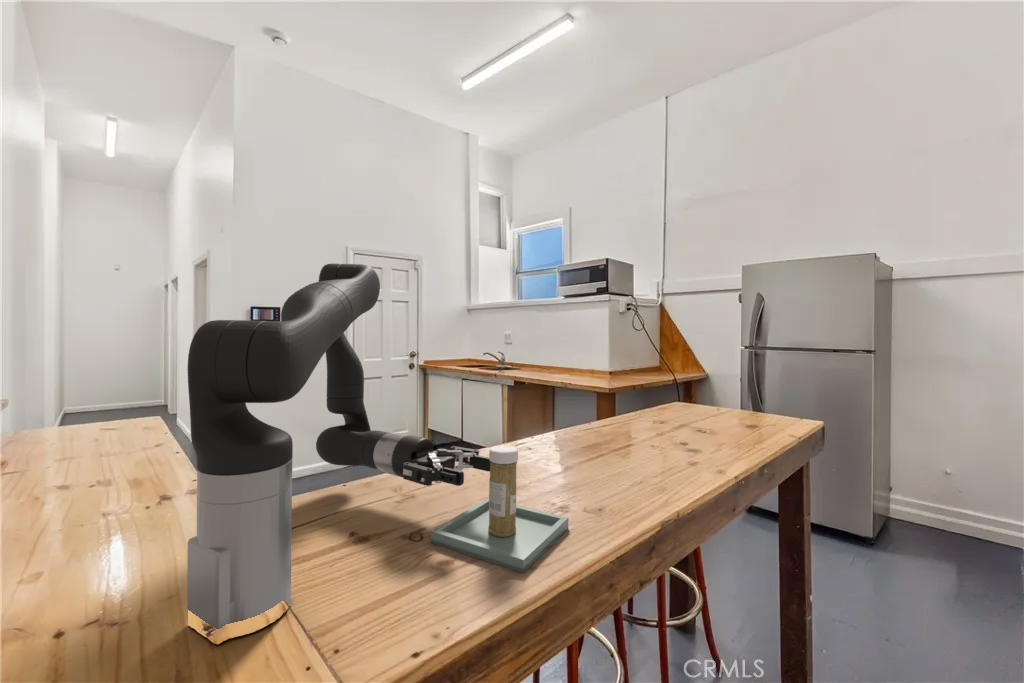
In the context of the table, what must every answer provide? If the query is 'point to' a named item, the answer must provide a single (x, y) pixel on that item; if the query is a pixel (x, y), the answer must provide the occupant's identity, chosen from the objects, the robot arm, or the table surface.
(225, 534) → the robot arm
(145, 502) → the table surface
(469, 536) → the tray
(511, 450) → the spice jar
